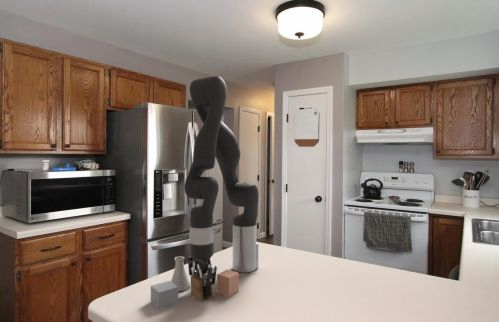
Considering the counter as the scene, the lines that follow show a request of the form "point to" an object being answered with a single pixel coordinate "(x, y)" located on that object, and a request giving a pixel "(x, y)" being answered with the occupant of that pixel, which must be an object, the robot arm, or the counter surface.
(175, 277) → the flask
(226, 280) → the terracotta cube
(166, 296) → the grey base block
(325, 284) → the counter surface
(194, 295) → the walnut cube
